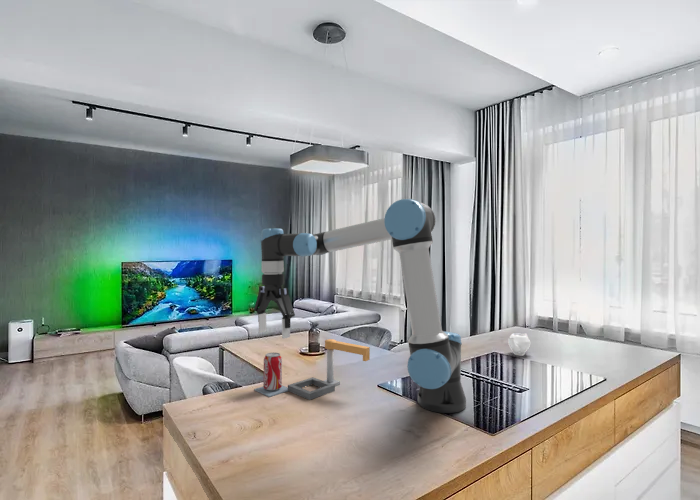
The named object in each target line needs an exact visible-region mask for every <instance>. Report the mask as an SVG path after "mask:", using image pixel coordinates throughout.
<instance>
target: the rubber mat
mask: <svg viewBox="0 0 700 500" xmlns="http://www.w3.org/2000/svg"><path fill="white" fill-rule="evenodd" d="M253 390H254V391H255V392H257V393H259V394H261V395H263V396H266V397H268V398H271V397H273V396H277V395H281V394H283V393H286V392H289V391H288V386H285V385H283V384H282V387H281V388H279V389H278V390H275V391H268V390H266V389H265V388H264V387H263V386H259V387H257V388H254V389H253Z"/></svg>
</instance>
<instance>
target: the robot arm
mask: <svg viewBox="0 0 700 500" xmlns="http://www.w3.org/2000/svg"><path fill="white" fill-rule="evenodd" d="M435 226H436V216H435V212H434V211H433V209H432V208H431V207H430V206H429V205H428V204H425V203H423V202H420V201H418V200H417V199H414V198H402V199H398V200H396V201H394V202H393V203H391V205H390V206H389V207H388V208H387V210H386V212H385V214H384V217H383V218H380V219H379V218H378V219H374V220H369V221H366V222H362V223H357V224H353V225H348V226H344V227H340V228H336V229H331V230H327V231H323V232H319V233H308V232H299V233H284V230H283V228H276V227H274V228H269V227H268V228H263V229H262V230H261V237H260V238H261V239H260V247H261V249H260V250H261V273H263V274H262V275H261V286H259V287H258V294H257V298H256V301H255V305H254V309H253V311H254V313H255V312H256V314H257V316H258V317H257V320H258V333H259V334H262V333H266V332H267V312H266V310H267V309H268V307H269V305H270V303H271V302H274V303H276V305H277V307H278V309H279V311H280V313H281V315H282V317H281V339H287V338H290V337H291V319H292V318H295V316H296V314H295V310H294V307H293V305H292V301H291V297H290V294H289V288H287V287H285V288H283V287H282V286H283V285H284V284H285V275H284V272H285V269H284V267H285V266H284V265H285V263H284V259H285V257H309V256H323V255H326V254H328V253H331V252H337V251H342V250H347V249H352V248H357V247H363V246H366V245H371V244H376V243H381V242H386V241H389V240H391V244H392V248H393V250H395V251H396V252H397V253H398V254H399V261H400V265H401V267H400V268H401V272H402V277H403V284H404V285H403V286H404V291H405V297H406V302H407V310H408V315H409V316H408V317H409V321H410V328H411V335H410V337H409V338H408V340H407V343H408V349H409V357H408V359H407V360H408V361H407V366H406V367H407V368H406V369H407V372H408V375H409V377H410V378H411V380H412V381H413V382H414V383H415V384H417V386H419V387H420V388H419V390H418V392H417V404H418V406H420V407H422V409H425V410H427V411H430V412H434V413H439V414H440V413H442V414H453V413H459V412H462V411H464V410H466V408H467V398H466V397H467V396H466V395H465V394H466V393H465V391H464V387H463V385H462V381H461V379H462V378H461V377H462V376H461V375H462V374H461V372H462V371H461V369H462V336H461V335H460V333H459V334H458V333H456V332H451V331H444V330H443V328H442V324H441V323H442V322H441V317H440V316H441V315H440V311H439V304H438V299H437V292H436V287H435V281H434V273H433V267H432V261H431V255H430V247H431V245H432V244H433V234H432V233H433V230H434V229H435ZM262 285H263V286H262Z"/></svg>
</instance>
